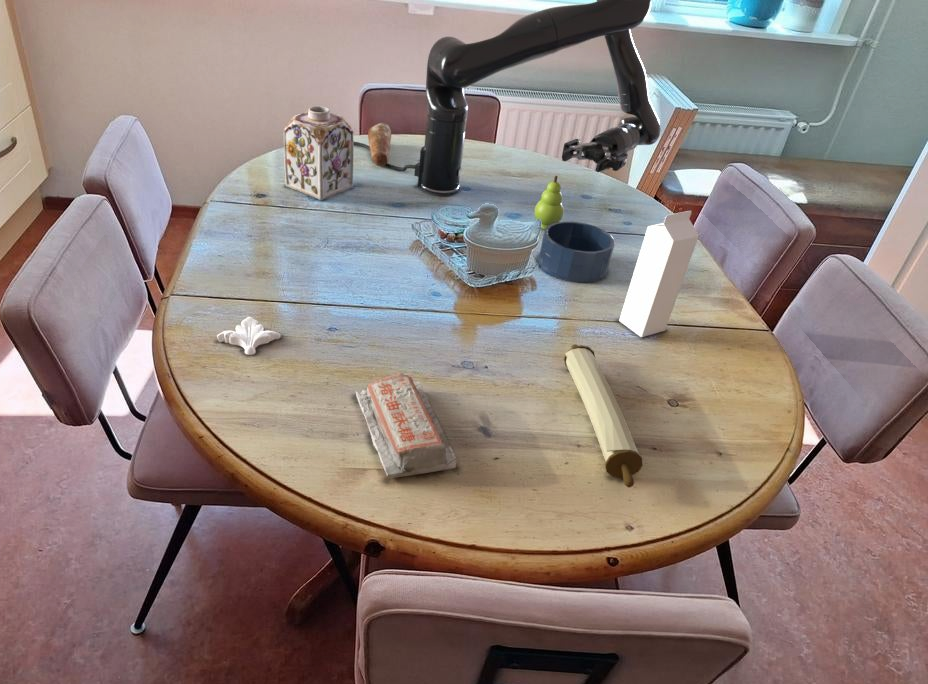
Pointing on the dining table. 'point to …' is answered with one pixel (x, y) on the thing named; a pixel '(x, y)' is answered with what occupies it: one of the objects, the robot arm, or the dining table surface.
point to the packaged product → (404, 427)
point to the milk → (659, 274)
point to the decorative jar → (318, 153)
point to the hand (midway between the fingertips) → (580, 162)
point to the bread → (379, 143)
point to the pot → (576, 251)
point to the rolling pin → (604, 414)
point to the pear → (550, 205)
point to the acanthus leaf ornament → (248, 335)
